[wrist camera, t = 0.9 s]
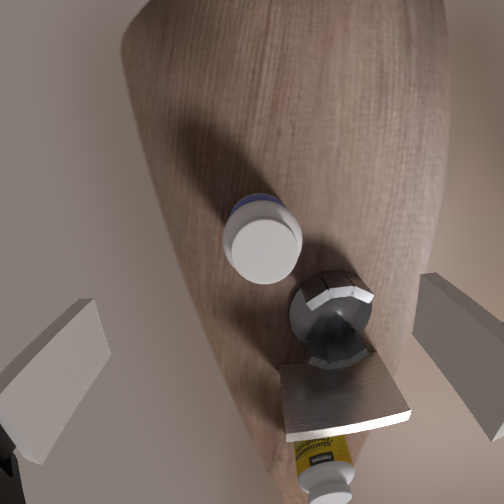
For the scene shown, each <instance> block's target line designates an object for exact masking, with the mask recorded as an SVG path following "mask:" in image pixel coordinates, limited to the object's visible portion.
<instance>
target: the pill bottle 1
mask: <svg viewBox="0 0 504 504" xmlns="http://www.w3.org/2000/svg"><path fill="white" fill-rule="evenodd" d="M301 248H302V232H301V228H300V225H299V223H298V221H297V220H296V218H295V217H294V215H293V214H292V213H291V212H290V211H289V210H288V209H287V208H286V206H285V205H284V204H283V203H282V202H281V201H280V200H279V199H278V198H276V197H275V196H273V195H270V194H266V193H254V194H250V195H247V196H245V197H244V198H242V199H241V200H239V201H238V202H237V203H236V205H235V206H234V207H233V209H232V211H231V213H230V216H229V218H228V221H227V223H226V225H225V228H224V232H223V249H224V252H225V255H226V257H227V259H228V261H229V262H230V264H231V265H232V266H233V267H234V268H235V269H236V270H237V271H238V272H239V273H240V275H241V276H242V277H244V278H245V279H247V280H249V281H251V282H254V283H258V284H271V283H275V282H278V281H280V280H282V279H283V278H285V277H286V276H287V275H288V274H289V273H290V272H291V271H292V270H293V268H294V266H295V264H296V262H297V259H298V257H299V255H300V252H301Z"/></svg>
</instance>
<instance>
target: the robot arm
mask: <svg viewBox="0 0 504 504" xmlns="http://www.w3.org/2000/svg"><path fill="white" fill-rule="evenodd" d="M412 334H413V336H414V337H415V338H416V339H417V341H418V342H419V343H420V345H421V346H422V347H423V348H424V350H425V351H426V352H427V353H428V355H429V356H430V357H431V359H432V360H433V361H434V362H435V364H436V365H437V366H438V368H439V369H440V370H441V371H442V373H443V374H444V376H445V377H446V378H447V380H448V381H449V382H450V383H451V385H452V386H453V388H454V389H455V390H456V392H457V393H458V395H459V396H460V397H461V399H462V400H463V402H464V403H465V404H466V406H467V407H468V409H469V410H470V411H471V413H472V414H473V416H474V417H475V419H476V420H477V422H478V423H479V424H480V426H481V427H482V429H483V430H484V432H485V433H486V435H487V436H488V438H489V439H490V441H491V442H492V441H495V440H496V439H498V438H500V437H502V436H504V323H503V322H501V321H500V320H498V319H497V318H496V317H495V316H493V315H492V314H491V313H489V312H488V311H487V310H486V309H484V308H483V307H482V306H480V305H479V304H478V303H477V302H475V301H474V300H473V299H471V298H470V297H469V296H467V295H466V294H465V293H463V292H462V291H460V290H459V289H458V288H456V287H455V286H454V285H453V284H451V283H450V282H448V281H447V280H446V279H444V278H443V277H441V276H440V275H439V274H437V273H428V274H421V275H420V284H419V293H418V300H417V308H416V314H415V321H414V327H413V333H412ZM110 356H111V352H110V349H109V346H108V343H107V340H106V337H105V334H104V331H103V328H102V324H101V321H100V318H99V315H98V311H97V307H96V304H95V301H94V298H90V299H89V298H88V299H79V300H78V301H77V302H75V303H74V304H73V305H72V306H71V307H70V308H68V309H67V310H66V311H65V312H64V313H63V314H62V315H61V316H59V317H58V318H57V319H56V320H55V321H54V322H53V323H52V324H51V325H50V326H48V327H47V328H46V329H45V330H44V331H43V332H42V333H41V334H40V335H39V336H38V337H37V338H36V339H35V340H34V341H33V342H31V343H30V344H29V345H28V346H27V347H26V348H25V349H24V350H23V351H22V352H21V353H20V354H19V355H18V356H17V357H16V358H15V359H14V360H13V361H12V362H11V363H10V364H9V365H8V366H7V367H6V368H5V369H4V370H3V371H2V372H1V373H0V504H26V502H25V498H24V494H23V489H22V484H21V479H20V473H19V467H18V461H17V458H16V456H15V455H14V453H13V451H14V449H15V448H16V447H17V448H18V450H19V451H20V452H21V454H22V455H23V456H24V457H25V459H27V460H30V461H32V462H35V463H37V464H40V465H42V464H43V462H44V460H45V458H46V457H47V455H48V453H49V451H50V450H51V448H52V447H53V445H54V443H55V442H56V440H57V438H58V437H59V435H60V433H61V432H62V430H63V428H64V427H65V425H66V424H67V422H68V420H69V419H70V417H71V415H72V414H73V412H74V411H75V409H76V408H77V406H78V404H79V403H80V401H81V399H82V398H83V397H84V395H85V394H86V392H87V390H88V389H89V387H90V386H91V384H92V383H93V381H94V380H95V378H96V377H97V375H98V374H99V372H100V371H101V369H102V368H103V366H104V365H105V363H106V362H107V360H108V359H109V357H110Z"/></svg>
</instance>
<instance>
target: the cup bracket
mask: <svg viewBox="0 0 504 504" xmlns="http://www.w3.org/2000/svg"><path fill="white" fill-rule="evenodd" d="M373 297H374V294H373V293H372V291H371V290H370V289H369V288H368V287H367V286H366V284H365V283H364V282H363V281H362V280H361V279H360V278H358V277H356V276H354V275H352V274H350V273H347V272H345V271H342V270H337V271H327V272H320V274H319V273H317V274H316V275H314V276H313V277H311V278H310V279H308V280H307V281H305V282H304V283H302V284H301V285H300V287H299V289H298V290H297V291H296V293H295V294H294V296H293V298H292V300H291V303H290V307H289V321H290V325H291V328H292V330H293V332H294V334H295V335H296V337H297V338H298V339H299V340H300V341H302V344H303V348H304V352H305V356H306V361H307V362H301V363H291V364H281V365H279V373H280V383H281V392H282V402H283V412H284V422H285V432H286V442H293V441H302V440H310V439H318V438H325V437H331V436H337V435H343V434H348V433H354V432H359V431H364V430H368V429H373V428H377V427H382V426H385V425H389V424H393V423H397V422H401V421H405V420H408V418H409V415H410V412H411V410H410V408H409V406H408V405H407V403H406V401H405V399H404V397H403V396H402V394H401V392H400V390H399V389H398V387H397V385H396V383H395V381H394V380H393V378H392V376H391V374H390V373H389V371H388V369H387V368H386V366H385V364H384V362H383V361H382V359H381V357H380V356H379V354H378V352H377V351H376V352H370V353H368V351H367V349H366V347H365V346H364V344H363V342H362V340H361V338H360V337H359V334H360V333H361V332H362V331H363V329H364V328H365V327H366V325H367V323H368V321H369V318H370V315H371V310H372V301H371V300H372V298H373Z"/></svg>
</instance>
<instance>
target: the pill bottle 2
mask: <svg viewBox="0 0 504 504" xmlns="http://www.w3.org/2000/svg"><path fill="white" fill-rule="evenodd" d="M294 449H295V459H296V468H297V477H298V484H299V486H300V488H301V489H302V490H304V491H305V492H307V493H309V494H308V502H309V504H346V503H347V502H349V501H350V500H351V498H352V493H351V488H350V486H349V485H348V484H349V483H350V482H351V480H352V479H353V477H354V473H355V472H354V467H353V463H352V459H351V456H350V452H349V448H348V445H347V441H346V438H345V434H343V435H337V436H331V437H325V438H318V439H310V440H302V441H294Z"/></svg>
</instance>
